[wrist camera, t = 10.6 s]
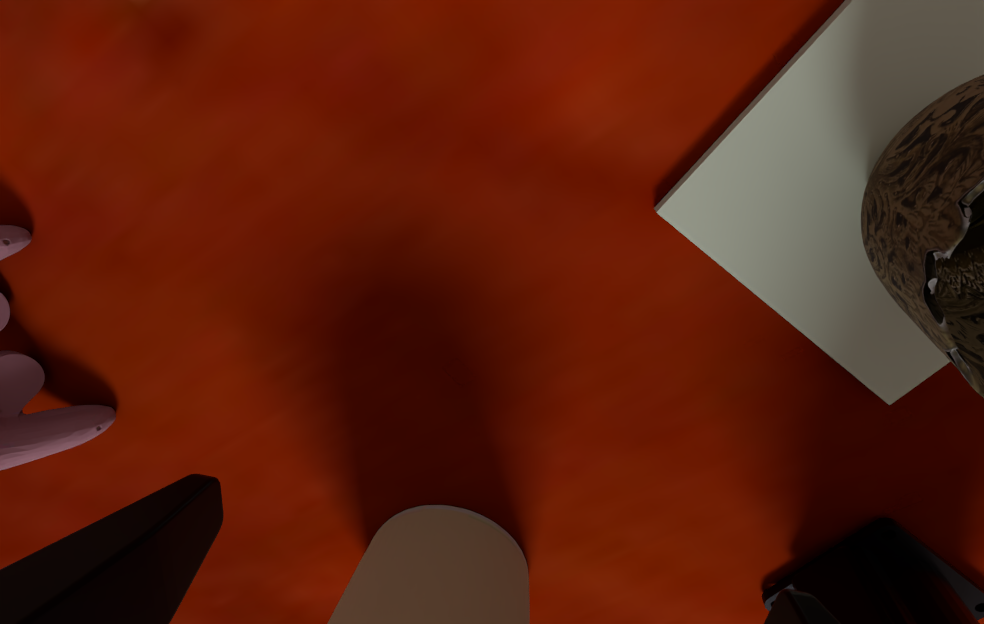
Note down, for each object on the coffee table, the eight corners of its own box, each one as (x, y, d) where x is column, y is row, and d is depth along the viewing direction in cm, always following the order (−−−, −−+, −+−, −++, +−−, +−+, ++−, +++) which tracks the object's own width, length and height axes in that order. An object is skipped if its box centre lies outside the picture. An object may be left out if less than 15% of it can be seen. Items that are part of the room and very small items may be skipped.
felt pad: (1216, 149, 16) (1239, 152, 15) (880, 396, 20) (889, 405, 20) (958, -123, 14) (973, -131, 14) (654, 208, 19) (656, 212, 18)
